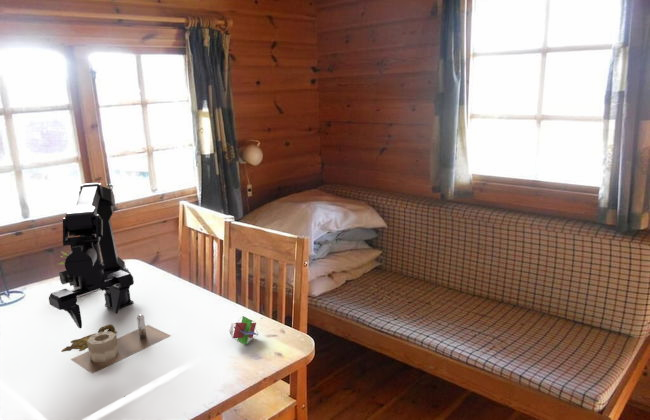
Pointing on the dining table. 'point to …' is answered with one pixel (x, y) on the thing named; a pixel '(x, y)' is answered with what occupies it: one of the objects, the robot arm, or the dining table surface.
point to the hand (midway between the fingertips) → (98, 320)
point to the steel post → (141, 326)
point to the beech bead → (102, 346)
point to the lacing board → (123, 348)
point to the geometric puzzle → (243, 330)
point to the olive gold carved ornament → (82, 342)
